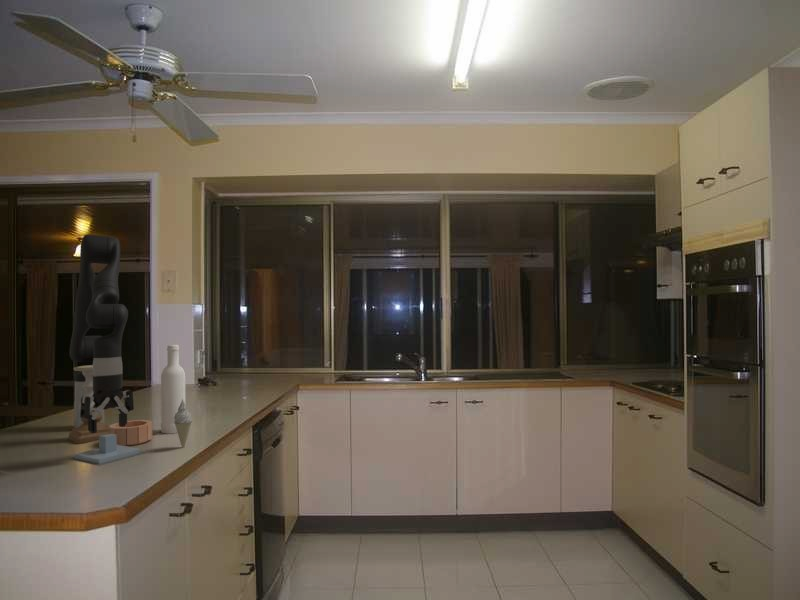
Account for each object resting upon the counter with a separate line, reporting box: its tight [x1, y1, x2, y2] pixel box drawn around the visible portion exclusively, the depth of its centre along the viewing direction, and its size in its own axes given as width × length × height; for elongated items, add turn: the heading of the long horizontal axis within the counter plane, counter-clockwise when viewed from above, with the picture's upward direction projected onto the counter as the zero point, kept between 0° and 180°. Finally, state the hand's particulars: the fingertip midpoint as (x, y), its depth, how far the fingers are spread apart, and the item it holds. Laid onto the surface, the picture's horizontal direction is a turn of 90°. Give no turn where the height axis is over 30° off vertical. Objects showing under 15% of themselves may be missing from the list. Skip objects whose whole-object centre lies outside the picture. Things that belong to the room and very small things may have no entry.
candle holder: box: [68, 364, 110, 445], centre depth 172 cm, size 11×11×24 cm
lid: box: [73, 434, 141, 464], centre depth 149 cm, size 12×12×6 cm
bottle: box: [160, 344, 187, 435], centre depth 181 cm, size 8×8×30 cm
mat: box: [67, 451, 146, 467], centre depth 149 cm, size 15×14×1 cm
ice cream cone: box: [174, 399, 193, 448], centre depth 157 cm, size 5×5×15 cm
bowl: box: [108, 419, 153, 447], centre depth 165 cm, size 12×12×6 cm
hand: (108, 429), depth 149 cm, fingers open, 8 cm apart
